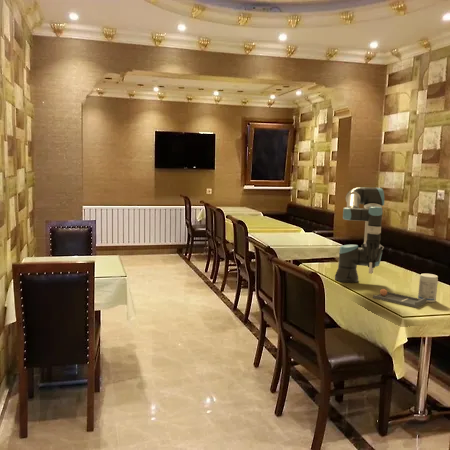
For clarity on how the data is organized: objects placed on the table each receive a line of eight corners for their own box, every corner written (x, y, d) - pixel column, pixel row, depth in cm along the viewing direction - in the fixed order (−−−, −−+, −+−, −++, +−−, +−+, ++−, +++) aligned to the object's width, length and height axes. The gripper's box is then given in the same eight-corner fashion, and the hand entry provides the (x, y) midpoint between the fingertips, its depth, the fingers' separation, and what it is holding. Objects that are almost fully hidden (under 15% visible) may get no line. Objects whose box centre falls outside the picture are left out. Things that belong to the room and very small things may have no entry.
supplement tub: (421, 297, 279) (423, 272, 277) (438, 300, 272) (440, 275, 270) (415, 300, 272) (417, 274, 270) (432, 303, 265) (434, 278, 263)
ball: (378, 295, 276) (379, 288, 276) (381, 294, 279) (382, 287, 278) (385, 297, 273) (385, 290, 273) (388, 295, 276) (388, 289, 276)
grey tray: (372, 297, 273) (373, 292, 273) (383, 293, 283) (383, 288, 283) (416, 307, 256) (416, 302, 256) (426, 303, 266) (426, 297, 266)
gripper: (360, 232, 279) (357, 271, 282) (381, 235, 270) (378, 275, 273) (366, 231, 285) (363, 270, 287) (387, 234, 276) (384, 274, 278)
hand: (370, 273), depth 280 cm, fingers closed
